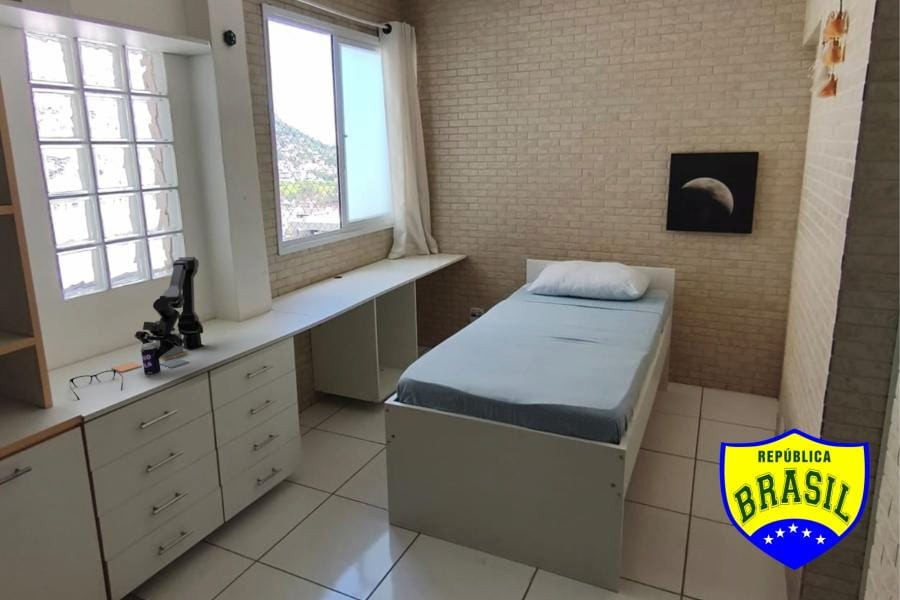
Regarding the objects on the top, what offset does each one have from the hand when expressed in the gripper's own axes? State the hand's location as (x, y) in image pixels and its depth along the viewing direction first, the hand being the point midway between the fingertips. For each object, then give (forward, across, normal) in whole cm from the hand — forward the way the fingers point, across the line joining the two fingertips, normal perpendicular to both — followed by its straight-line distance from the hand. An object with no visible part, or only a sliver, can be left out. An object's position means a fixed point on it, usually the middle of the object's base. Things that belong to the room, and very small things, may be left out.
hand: (149, 358), depth 230 cm
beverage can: (+4, 0, +5) cm, 7 cm away
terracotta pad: (+2, -16, +7) cm, 17 cm away
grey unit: (-10, -9, +19) cm, 23 cm away
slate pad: (-4, 0, +13) cm, 14 cm away
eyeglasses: (+17, -9, -7) cm, 20 cm away
